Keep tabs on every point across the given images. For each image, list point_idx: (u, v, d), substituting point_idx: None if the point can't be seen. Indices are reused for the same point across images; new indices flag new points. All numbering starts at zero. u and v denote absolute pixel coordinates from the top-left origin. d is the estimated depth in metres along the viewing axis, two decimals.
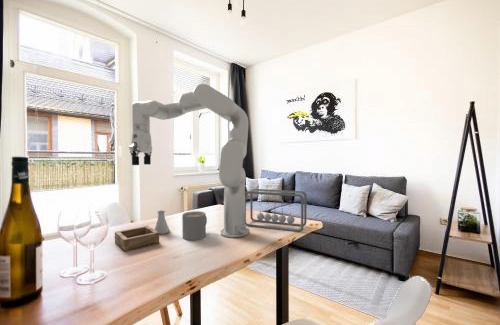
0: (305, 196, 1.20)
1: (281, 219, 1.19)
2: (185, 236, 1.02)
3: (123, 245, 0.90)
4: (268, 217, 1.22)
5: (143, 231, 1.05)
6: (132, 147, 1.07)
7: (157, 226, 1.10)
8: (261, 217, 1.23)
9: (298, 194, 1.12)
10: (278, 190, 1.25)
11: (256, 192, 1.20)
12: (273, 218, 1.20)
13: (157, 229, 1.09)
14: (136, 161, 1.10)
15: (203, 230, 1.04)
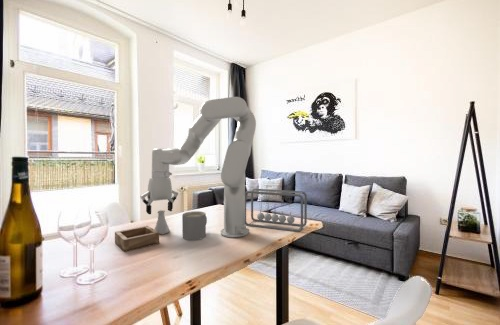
0: (305, 196, 1.20)
1: (281, 219, 1.19)
2: (185, 236, 1.02)
3: (123, 245, 0.90)
4: (268, 217, 1.22)
5: (143, 231, 1.05)
6: None
7: (157, 226, 1.10)
8: (261, 217, 1.23)
9: (298, 194, 1.12)
10: (278, 190, 1.25)
11: (256, 192, 1.20)
12: (273, 218, 1.21)
13: (157, 229, 1.09)
14: None
15: (203, 230, 1.04)
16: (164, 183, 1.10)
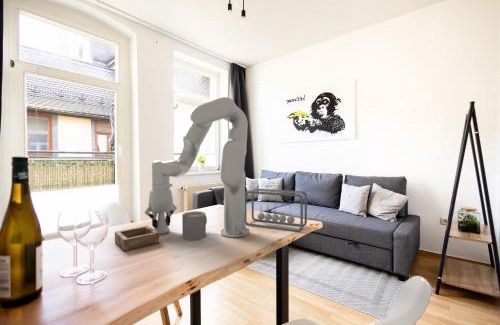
0: (305, 196, 1.20)
1: (281, 219, 1.19)
2: (185, 236, 1.02)
3: (123, 245, 0.90)
4: (268, 217, 1.22)
5: (143, 231, 1.05)
6: None
7: (157, 226, 1.10)
8: (261, 217, 1.24)
9: (297, 194, 1.12)
10: (279, 190, 1.26)
11: (256, 192, 1.21)
12: (273, 218, 1.21)
13: (157, 229, 1.09)
14: None
15: (203, 230, 1.04)
16: (165, 195, 1.10)
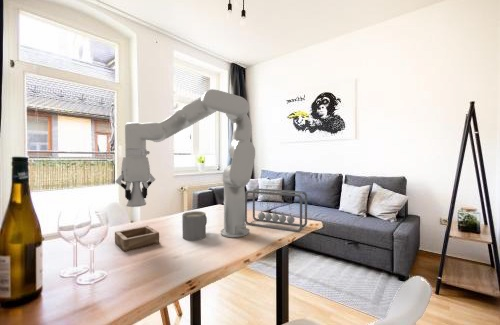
0: (306, 196, 1.19)
1: (281, 219, 1.19)
2: (185, 236, 1.02)
3: (123, 245, 0.90)
4: (268, 216, 1.23)
5: (143, 231, 1.05)
6: None
7: (131, 198, 0.96)
8: (262, 216, 1.24)
9: (297, 194, 1.12)
10: (279, 190, 1.26)
11: (256, 191, 1.21)
12: (273, 218, 1.21)
13: (131, 201, 0.95)
14: None
15: (203, 230, 1.04)
16: (140, 162, 0.96)
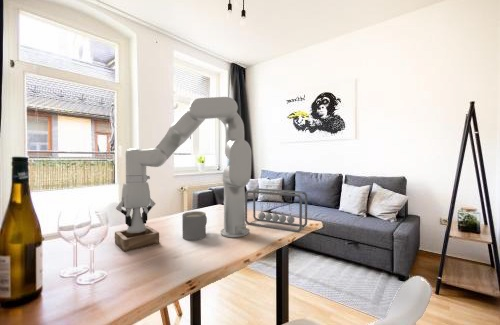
0: (306, 196, 1.19)
1: (281, 219, 1.19)
2: (185, 236, 1.02)
3: (123, 245, 0.90)
4: (269, 216, 1.23)
5: (143, 231, 1.05)
6: None
7: (131, 224, 0.96)
8: (262, 216, 1.25)
9: (296, 194, 1.12)
10: (279, 190, 1.26)
11: (256, 191, 1.22)
12: (273, 217, 1.21)
13: (131, 227, 0.95)
14: None
15: (203, 230, 1.04)
16: (140, 188, 0.96)
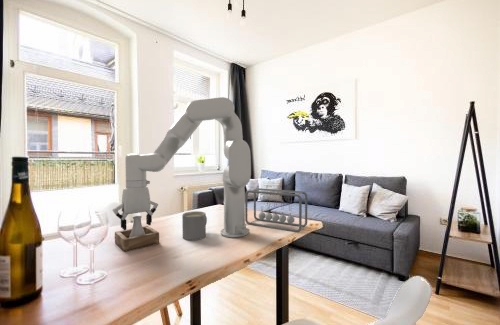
0: (306, 196, 1.19)
1: (281, 219, 1.20)
2: (185, 236, 1.02)
3: (123, 245, 0.90)
4: (269, 216, 1.23)
5: None
6: None
7: (132, 234, 0.96)
8: (262, 216, 1.25)
9: (296, 194, 1.12)
10: (280, 190, 1.26)
11: (256, 191, 1.22)
12: (273, 217, 1.22)
13: None
14: None
15: (203, 230, 1.04)
16: (140, 193, 0.96)
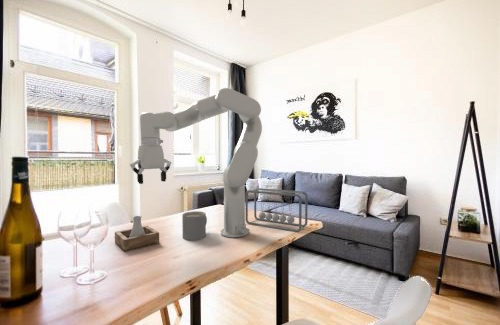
0: (306, 196, 1.19)
1: (281, 219, 1.20)
2: (185, 236, 1.02)
3: (123, 245, 0.90)
4: (269, 216, 1.23)
5: None
6: None
7: (132, 234, 0.96)
8: (262, 216, 1.25)
9: (296, 194, 1.12)
10: (280, 190, 1.26)
11: (257, 191, 1.22)
12: (273, 217, 1.22)
13: None
14: None
15: (203, 230, 1.04)
16: (155, 150, 1.02)
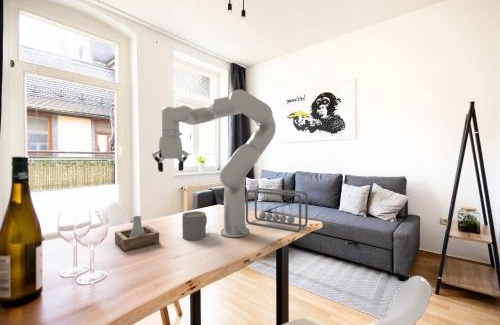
0: (306, 196, 1.19)
1: (281, 218, 1.20)
2: (185, 236, 1.02)
3: (123, 245, 0.90)
4: (269, 216, 1.24)
5: None
6: None
7: (132, 234, 0.96)
8: (263, 216, 1.26)
9: (296, 194, 1.12)
10: (280, 190, 1.26)
11: (257, 191, 1.23)
12: (274, 217, 1.22)
13: None
14: None
15: (203, 230, 1.04)
16: (175, 141, 1.11)
